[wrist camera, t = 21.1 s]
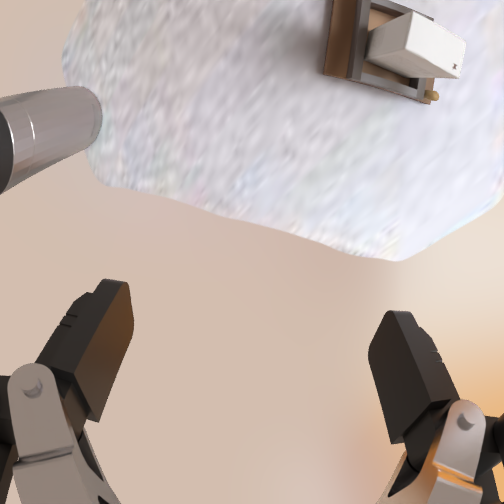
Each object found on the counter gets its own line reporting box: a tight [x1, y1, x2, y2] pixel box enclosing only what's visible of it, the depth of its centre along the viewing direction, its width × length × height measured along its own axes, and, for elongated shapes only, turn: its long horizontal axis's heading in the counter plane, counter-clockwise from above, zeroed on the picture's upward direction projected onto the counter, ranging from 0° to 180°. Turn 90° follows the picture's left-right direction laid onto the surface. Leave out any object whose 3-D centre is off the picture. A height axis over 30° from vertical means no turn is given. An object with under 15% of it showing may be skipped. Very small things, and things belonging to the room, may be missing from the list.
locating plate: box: [323, 0, 439, 105], centre depth 27 cm, size 14×11×4 cm
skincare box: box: [364, 11, 466, 79], centre depth 23 cm, size 6×4×12 cm
